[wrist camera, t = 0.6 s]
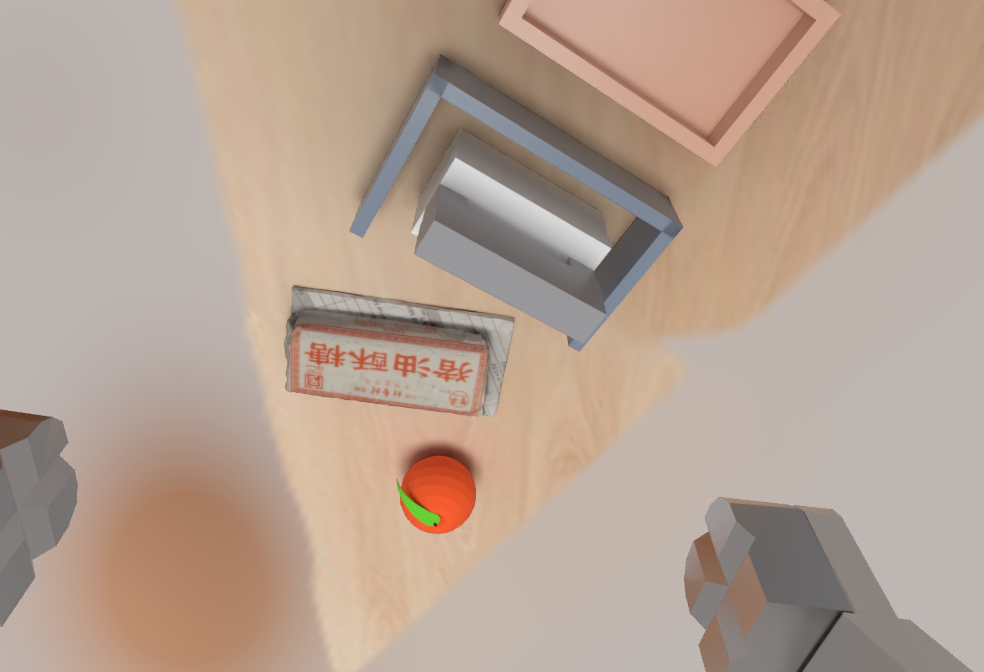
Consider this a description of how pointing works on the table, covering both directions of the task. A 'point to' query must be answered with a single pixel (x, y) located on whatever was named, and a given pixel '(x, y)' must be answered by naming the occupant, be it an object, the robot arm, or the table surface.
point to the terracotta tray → (678, 56)
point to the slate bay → (556, 148)
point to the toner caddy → (513, 236)
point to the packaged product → (395, 352)
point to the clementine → (437, 494)
